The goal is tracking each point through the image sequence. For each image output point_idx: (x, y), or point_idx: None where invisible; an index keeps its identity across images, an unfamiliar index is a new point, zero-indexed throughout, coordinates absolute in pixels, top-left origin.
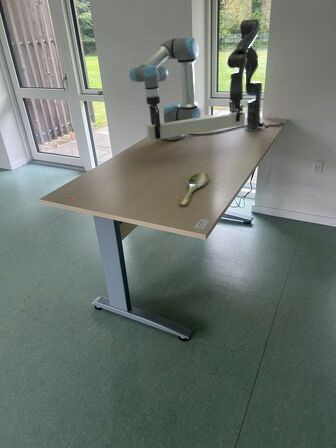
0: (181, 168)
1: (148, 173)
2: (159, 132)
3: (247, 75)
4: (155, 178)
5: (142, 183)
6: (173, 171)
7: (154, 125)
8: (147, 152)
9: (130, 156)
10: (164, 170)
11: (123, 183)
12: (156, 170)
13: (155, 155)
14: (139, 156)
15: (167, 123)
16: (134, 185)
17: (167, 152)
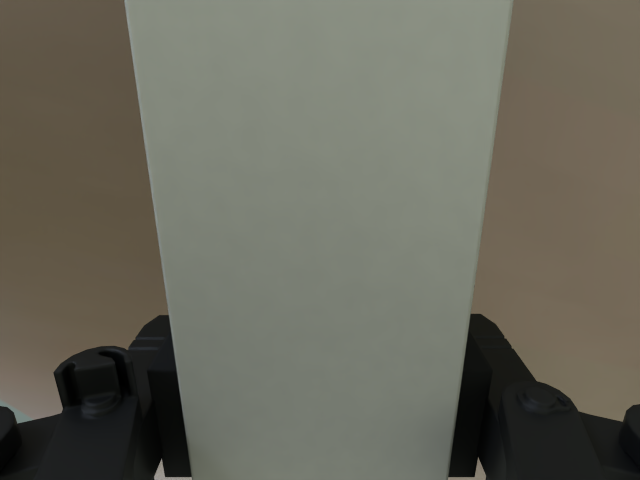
0: (561, 29)
1: (488, 308)
2: None
3: None
4: (608, 287)
5: (624, 376)
6: (577, 123)
7: (314, 477)
8: (3, 207)
9: (65, 350)
10: (508, 186)
11: None
12: None
13: (112, 160)
14: (90, 290)
15: (316, 15)
16: (617, 420)
17: (62, 19)
